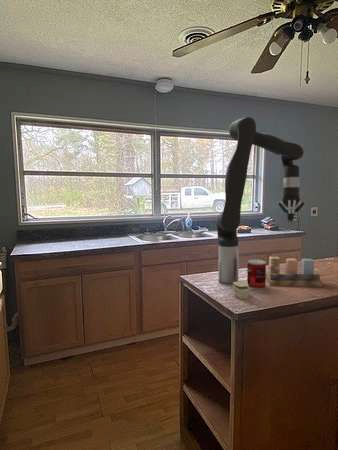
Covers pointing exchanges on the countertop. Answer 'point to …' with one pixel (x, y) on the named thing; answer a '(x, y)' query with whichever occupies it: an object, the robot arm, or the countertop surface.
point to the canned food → (256, 273)
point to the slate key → (307, 266)
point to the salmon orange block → (291, 266)
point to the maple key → (274, 265)
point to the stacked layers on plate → (241, 289)
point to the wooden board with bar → (294, 279)
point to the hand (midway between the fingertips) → (290, 220)
